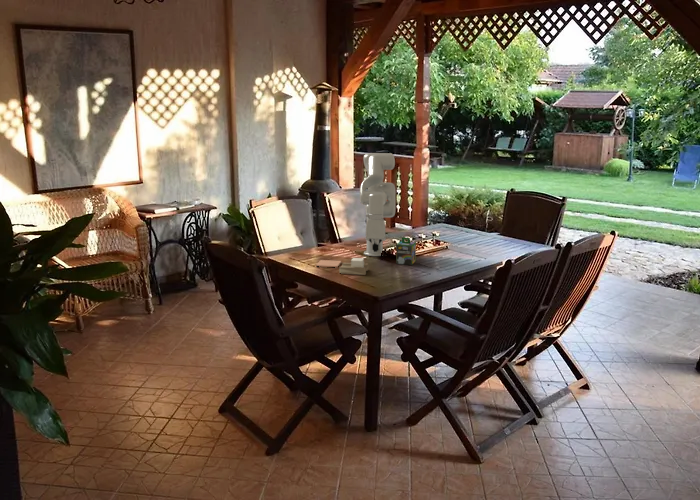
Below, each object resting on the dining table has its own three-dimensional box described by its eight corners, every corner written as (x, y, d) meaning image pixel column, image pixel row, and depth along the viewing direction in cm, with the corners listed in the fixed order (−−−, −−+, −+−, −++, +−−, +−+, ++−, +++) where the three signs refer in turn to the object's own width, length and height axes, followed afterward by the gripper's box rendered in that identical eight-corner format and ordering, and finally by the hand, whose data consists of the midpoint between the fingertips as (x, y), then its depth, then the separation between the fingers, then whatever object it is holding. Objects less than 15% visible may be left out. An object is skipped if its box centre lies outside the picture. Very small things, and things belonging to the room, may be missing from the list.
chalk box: (415, 261, 369) (416, 236, 366) (411, 265, 361) (412, 239, 357) (400, 260, 372) (400, 234, 369) (395, 264, 364) (396, 238, 360)
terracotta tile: (320, 261, 368) (320, 259, 368) (341, 262, 367) (341, 260, 366) (315, 267, 357) (315, 265, 357) (337, 267, 355) (337, 266, 355)
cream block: (352, 270, 350) (352, 257, 349) (363, 270, 349) (363, 258, 348) (351, 273, 344) (351, 260, 343) (362, 273, 344) (362, 260, 342)
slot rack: (342, 268, 353) (342, 262, 352) (367, 270, 351) (368, 263, 350) (339, 273, 344) (339, 267, 343) (365, 274, 342) (365, 268, 341)
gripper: (360, 217, 336) (360, 252, 340) (389, 218, 334) (388, 253, 337) (362, 215, 343) (362, 249, 347) (390, 216, 341) (390, 250, 345)
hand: (375, 251), depth 342 cm, fingers closed
